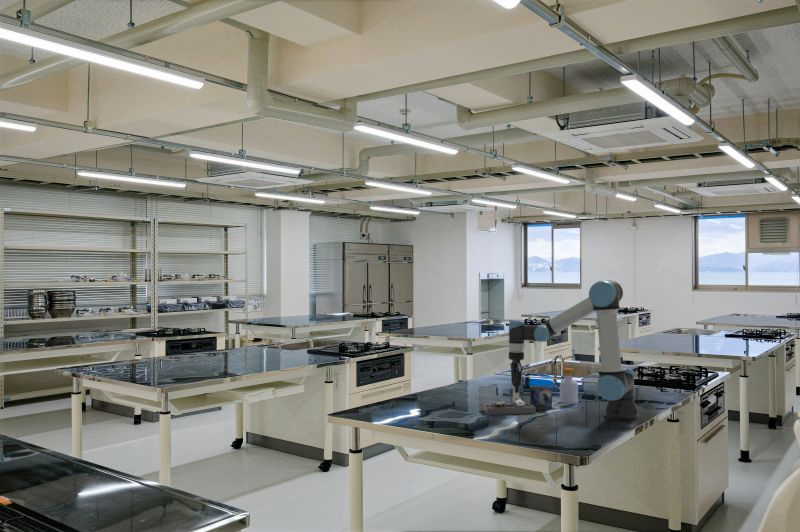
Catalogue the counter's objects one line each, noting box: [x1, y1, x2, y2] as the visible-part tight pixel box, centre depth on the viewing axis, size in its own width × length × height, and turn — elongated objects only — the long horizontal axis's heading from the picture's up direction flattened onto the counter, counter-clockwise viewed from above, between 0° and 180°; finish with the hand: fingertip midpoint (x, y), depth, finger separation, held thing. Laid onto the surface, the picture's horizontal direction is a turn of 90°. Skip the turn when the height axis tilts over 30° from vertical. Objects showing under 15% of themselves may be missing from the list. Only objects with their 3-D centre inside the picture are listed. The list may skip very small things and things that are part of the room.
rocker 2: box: [512, 397, 525, 406], centre depth 307 cm, size 8×4×1 cm, turn 6°
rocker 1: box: [492, 400, 505, 404], centre depth 306 cm, size 8×4×1 cm, turn 5°
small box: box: [529, 385, 553, 410], centre depth 316 cm, size 11×6×10 cm, turn 82°
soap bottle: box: [559, 355, 579, 405], centre depth 327 cm, size 9×9×25 cm
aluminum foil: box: [590, 372, 599, 379], centre depth 395 cm, size 23×7×3 cm, turn 44°
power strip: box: [481, 400, 549, 415], centre depth 307 cm, size 10×32×5 cm, turn 96°
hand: (516, 398), depth 311 cm, fingers closed
